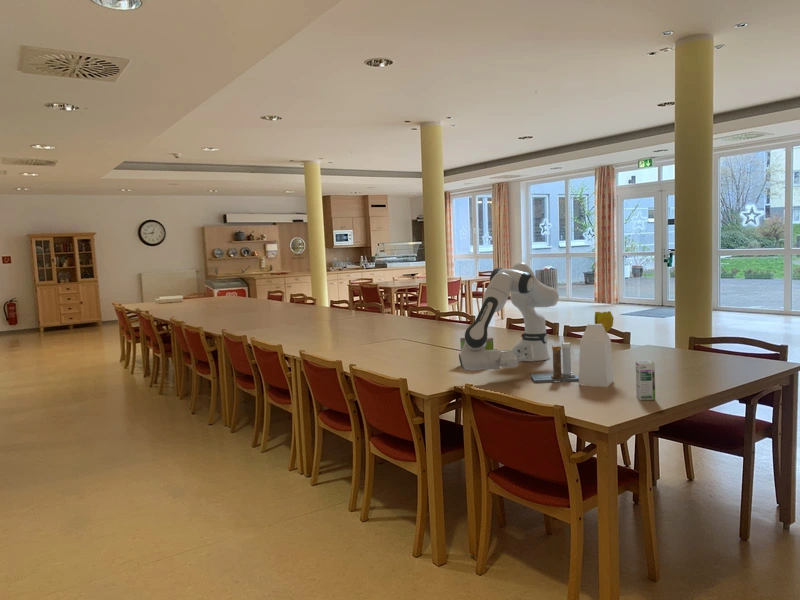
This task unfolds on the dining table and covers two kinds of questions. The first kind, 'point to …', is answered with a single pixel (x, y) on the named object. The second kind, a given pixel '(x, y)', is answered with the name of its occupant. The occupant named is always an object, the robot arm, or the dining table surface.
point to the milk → (595, 357)
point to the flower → (604, 319)
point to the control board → (547, 378)
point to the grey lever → (566, 359)
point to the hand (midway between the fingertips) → (525, 358)
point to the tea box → (488, 346)
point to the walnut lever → (557, 362)
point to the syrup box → (645, 380)
